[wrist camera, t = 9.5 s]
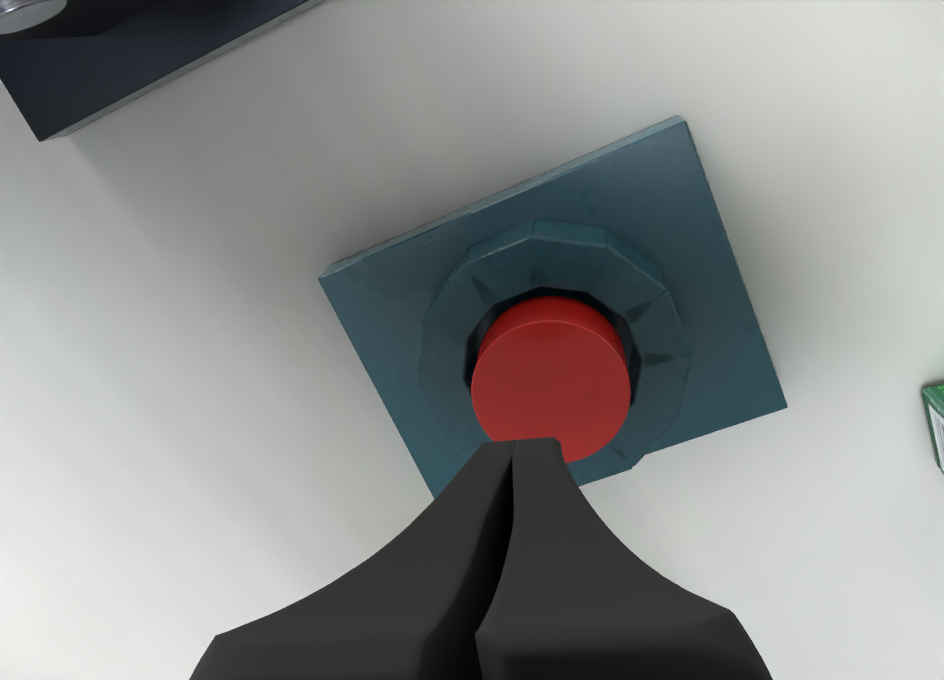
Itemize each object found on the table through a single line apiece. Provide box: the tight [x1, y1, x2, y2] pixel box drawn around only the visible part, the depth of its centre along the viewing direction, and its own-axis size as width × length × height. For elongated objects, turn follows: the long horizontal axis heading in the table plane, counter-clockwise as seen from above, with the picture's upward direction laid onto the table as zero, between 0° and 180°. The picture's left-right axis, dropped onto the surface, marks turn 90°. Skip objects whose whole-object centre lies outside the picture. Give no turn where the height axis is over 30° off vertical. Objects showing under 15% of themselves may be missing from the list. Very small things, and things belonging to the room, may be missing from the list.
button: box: [471, 296, 631, 463], centre depth 19 cm, size 4×4×2 cm
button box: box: [318, 116, 787, 499], centre depth 21 cm, size 10×8×3 cm
